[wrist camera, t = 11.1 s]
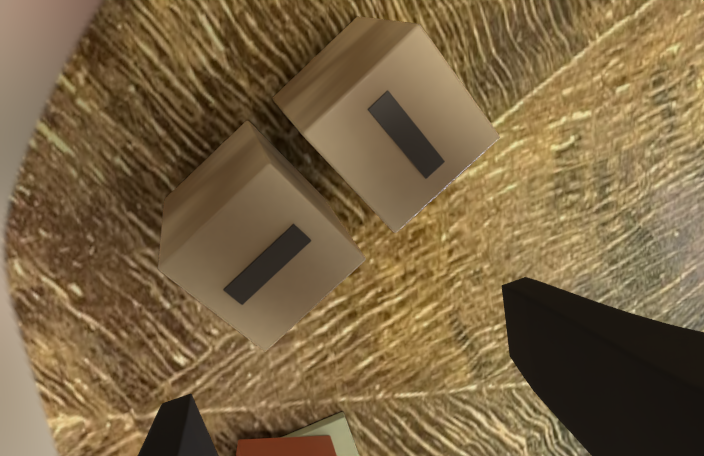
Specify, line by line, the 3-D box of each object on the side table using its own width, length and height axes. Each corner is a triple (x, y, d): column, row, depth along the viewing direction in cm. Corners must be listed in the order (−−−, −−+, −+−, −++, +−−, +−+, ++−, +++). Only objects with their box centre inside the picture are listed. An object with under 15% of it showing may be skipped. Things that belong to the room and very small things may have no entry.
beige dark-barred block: (246, 270, 21) (265, 355, 16) (163, 199, 19) (156, 270, 14) (324, 197, 21) (368, 261, 16) (247, 119, 19) (270, 163, 14)
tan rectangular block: (345, 178, 21) (396, 236, 16) (270, 98, 19) (302, 135, 14) (426, 103, 21) (503, 138, 16) (358, 15, 19) (421, 22, 14)
